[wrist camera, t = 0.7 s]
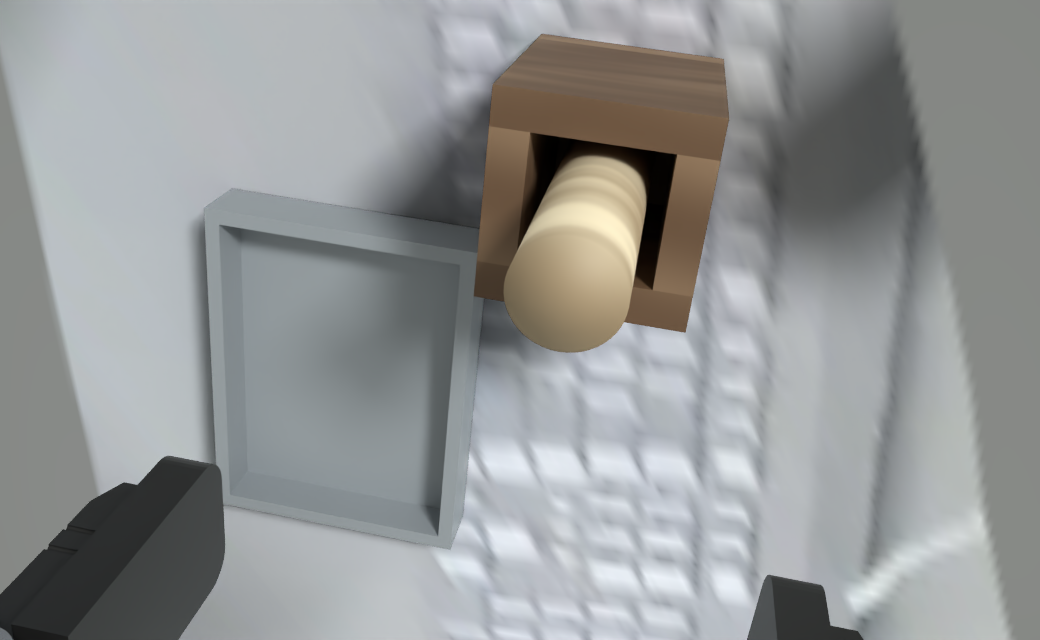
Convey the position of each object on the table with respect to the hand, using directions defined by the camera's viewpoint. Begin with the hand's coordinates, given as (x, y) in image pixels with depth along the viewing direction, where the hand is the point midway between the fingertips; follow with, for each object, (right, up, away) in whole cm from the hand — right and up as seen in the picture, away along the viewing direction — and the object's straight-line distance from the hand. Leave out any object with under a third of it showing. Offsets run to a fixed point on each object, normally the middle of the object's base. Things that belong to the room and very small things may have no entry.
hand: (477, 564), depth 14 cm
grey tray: (-7, +2, +28) cm, 29 cm away
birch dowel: (+4, +10, +21) cm, 24 cm away
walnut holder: (+4, +10, +22) cm, 25 cm away
